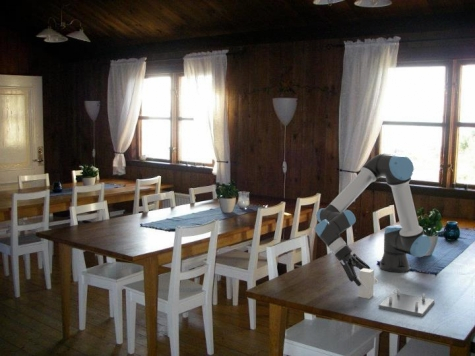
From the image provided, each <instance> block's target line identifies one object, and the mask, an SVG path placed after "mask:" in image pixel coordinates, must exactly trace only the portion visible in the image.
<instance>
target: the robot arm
mask: <svg viewBox="0 0 475 356" xmlns="http://www.w3.org/2000/svg"><path fill="white" fill-rule="evenodd" d="M414 170H415V168H414V164H413V162H412V160H411V159H410V158H409V157H407V156H406V155H402V154H391V153H380V154H377V155H375V156H373V157H372V158H371V159H369V160H368V161H367V162H365V163H364V165H362V166H361V168H360V171H359V173H358V174H357V175H356V176H355V177H354V178H353V179H352V180H351V181H350V182H349V183H348V184H347V185H346V187H345V188H343V190H342V191H341V192H339V194H338V195H337V196H336V197H335V198H334V199H332V201H331V202H330V203H329V204H328V205H327V206H326V207H324V208H323V207H321V208H320V209H318V210H317V211H316V213H315V215H316V220H317V221H318V223H317V224H316V225H315V227H314V231H315V233H316V234H317V236H318V237H319V238H320V240H322V242H323V243H324V244H325V245H326V246H327V248H328V249H329V251H330V252H331V253H333V254H334V256H335V258H336V259H337V260H338V261H340V262H339V264H340V266H341V267H342V268H343V271H344V272H345V274H346V277H347V279H348V280H349V281H350V282H351V283H353V282H354V283H355V285H356V286H357V287H358V289H359V288H360V289H361V291H362V292H363V293H364V292H365V291H366V290H368V288H367V287H366V286H365V284H364V283H363V282H362V281H361V280H360V278H359V276H358V275H357V273H356V270H355V267H356V268H358V269H359V271H360V270H361V269H363V268H365V269H371V267H370V265H369V264H368V263H366V262H365V261H363V260H362V259H361V258H360V257H359V256H358V255H357V254H356V253H353V254H351V253H352V252H353V250H352V249H351V248H350V247H349V246H348V245H347V243H346V241H345V240H344V239H343V237H342V236H340V235H341V234H342V233H343V232H345V231H346V230H348V229H349V228H350V227H352V226H354V224H355V223H356V220H357V218H356V216H355V214H354V213H353V212H352V211H351V210H349V209H347V208H348V207H349V206H350V205H351V204H352V203H353V202H354V201H355V200H356V199H357V198H358V197H359V196H360V195H362V193H363V192H364V191H365V190H366V188H367V187H369V185H370V184H372V183H373V182H376V181H377V180H378V179H379V178H382V177H384V178H385V181H386V185H388V186H389V187H390V188H391V192H392V196H393V199H394V203H395V207H396V213H397V216H398V220H399V224H400V225H388V226H386V227H385V228H384V233H383V255H382V257H381V260H380V263H379V268H380V269H381V270H384V271H386V272H392V273H394V272H395V273H405V272H408V271H409V270H410V263H409V260H408V255H410V256H412V257H417V258H421V257H424V256H426V255H427V254H428V252H429V251H430V250H431V246H432V241H431V239H430V237H429V236H428V235H426V234H425V232H424V229H423V226H420V224H419V221H418V220H419V219H418V217H417V212H416V208H415V204H414V200H413V195H412V191H411V187H410V186H411V185H410V184H409V183H410V181H411V180H412V176H413V172H414ZM377 283H379V280H378V278H376V276H375V275H374V285H376V284H377Z"/></svg>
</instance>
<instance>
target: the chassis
mask: <svg viewBox="0 0 475 356" xmlns="http://www.w3.org/2000/svg"><path fill="white" fill-rule="evenodd" d="M400 292H401V290H400V289H399V288H398V289H396V292H395V291H393V292H392V293H390V295H389V296H387V297H386V298H385V299H384V300H383V301H382V302H380V304H378V309H380V310H386V311H389V312H395V313H399V314H405V315H409V316H414V317H419V318H423V317H424V316H425V314H426V313H428V311H429V310H430V309H431V308H432V306H434V304H435V299H433V298H429V297H428V298H427V297H426V294H425V293H422V296H417V295H411V294H406V293H400Z"/></svg>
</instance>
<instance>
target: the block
mask: <svg viewBox="0 0 475 356" xmlns="http://www.w3.org/2000/svg"><path fill="white" fill-rule="evenodd" d="M358 271H359V272H358V273H359V274H358V275H359V276H358V277H359V278H360V280H361V281H362V282H363V283H364V284H365V286H366V287H367V288H368V290H366V291H365V292H364V293H363V292H362V291H361V289H360V288H359V287H358V297H360V298H363V299H368V300H369V299H371V298H372V297H374V287H375V284H374V276H375V269H371V268H370V269H365V268H363V269H361V270H360V269H359V270H358Z"/></svg>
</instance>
